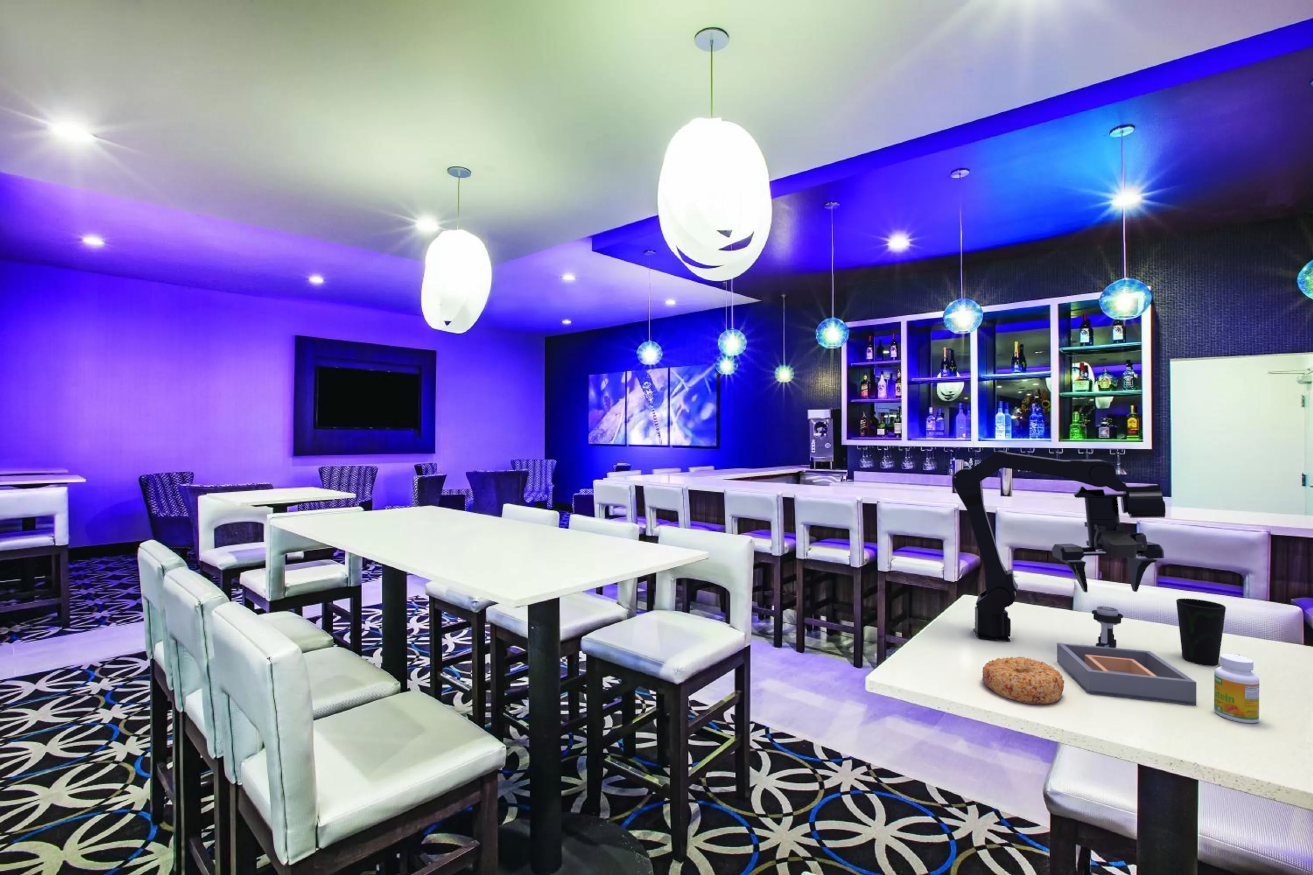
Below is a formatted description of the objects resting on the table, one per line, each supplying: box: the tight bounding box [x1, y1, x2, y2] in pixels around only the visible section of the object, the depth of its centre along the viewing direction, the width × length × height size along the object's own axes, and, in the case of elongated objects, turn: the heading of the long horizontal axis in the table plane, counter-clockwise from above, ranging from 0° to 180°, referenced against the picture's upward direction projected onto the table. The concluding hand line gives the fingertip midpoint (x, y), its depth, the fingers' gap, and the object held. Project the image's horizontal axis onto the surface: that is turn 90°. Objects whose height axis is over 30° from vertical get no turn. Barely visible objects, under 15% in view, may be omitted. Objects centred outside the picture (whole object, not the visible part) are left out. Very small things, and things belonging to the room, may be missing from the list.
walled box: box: [1056, 642, 1197, 706], centre depth 114 cm, size 16×16×4 cm
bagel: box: [981, 656, 1065, 705], centre depth 110 cm, size 13×14×5 cm
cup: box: [1175, 597, 1227, 667], centre depth 125 cm, size 8×8×12 cm
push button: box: [1091, 605, 1124, 648], centre depth 128 cm, size 7×5×10 cm
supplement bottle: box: [1213, 653, 1260, 724], centre depth 100 cm, size 5×5×10 cm
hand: (1109, 591), depth 128 cm, fingers open, 9 cm apart
